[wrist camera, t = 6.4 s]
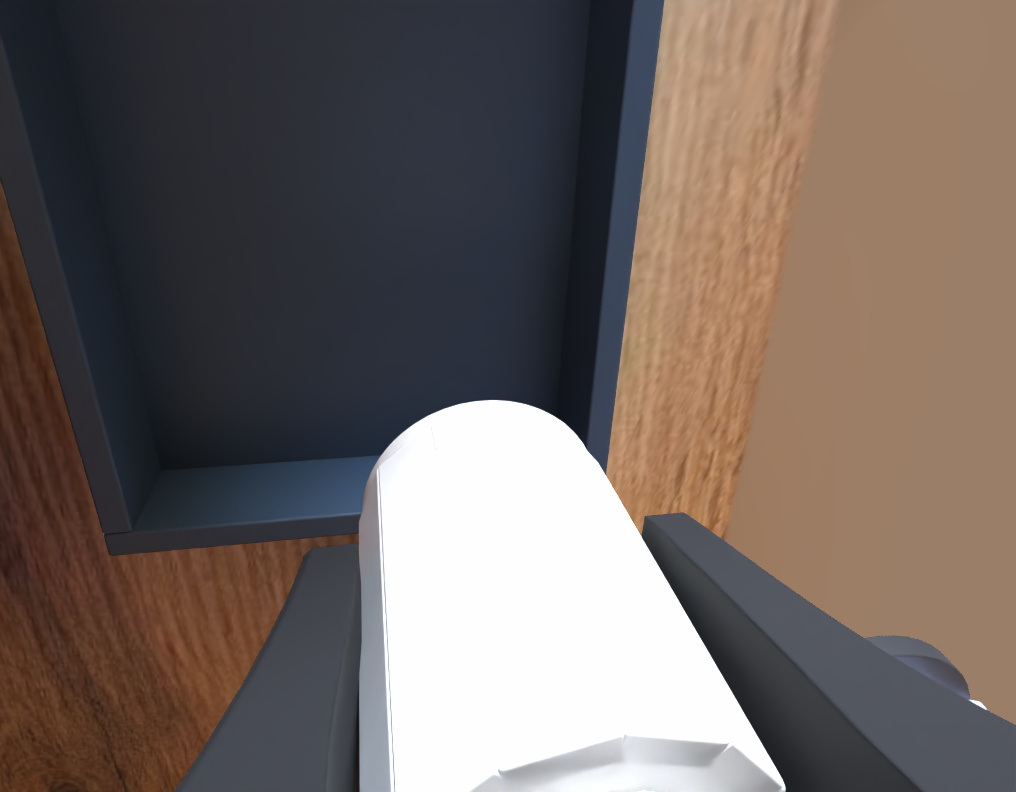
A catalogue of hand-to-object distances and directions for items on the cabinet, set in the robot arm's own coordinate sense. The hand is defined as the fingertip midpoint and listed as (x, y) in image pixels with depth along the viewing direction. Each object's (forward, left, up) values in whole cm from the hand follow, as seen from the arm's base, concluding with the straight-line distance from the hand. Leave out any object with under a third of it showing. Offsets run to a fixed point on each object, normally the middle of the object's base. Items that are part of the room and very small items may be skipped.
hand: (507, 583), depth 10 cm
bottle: (0, 0, -2) cm, 2 cm away
